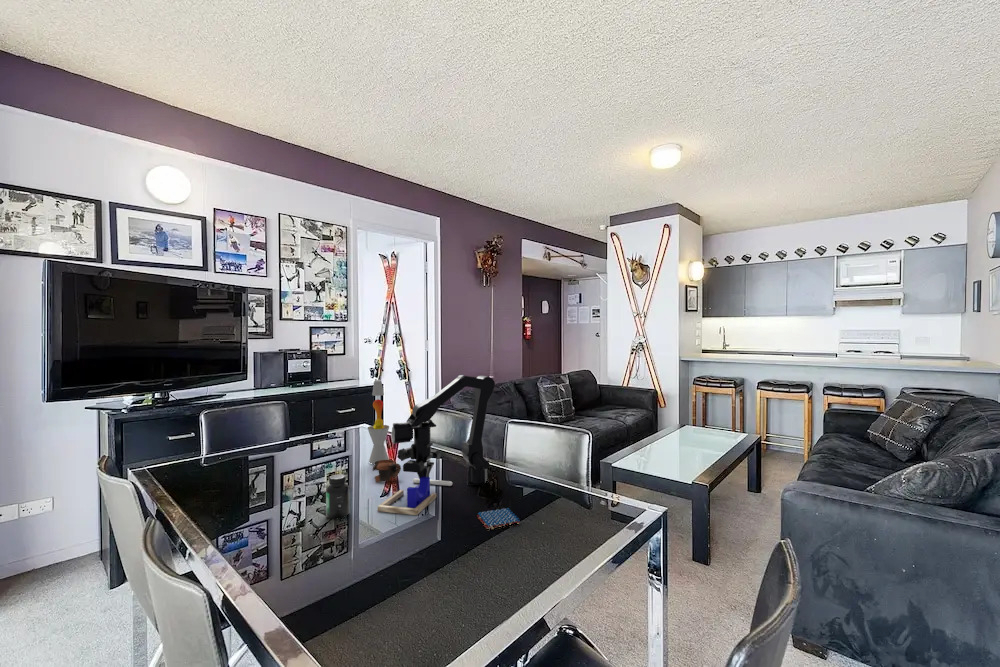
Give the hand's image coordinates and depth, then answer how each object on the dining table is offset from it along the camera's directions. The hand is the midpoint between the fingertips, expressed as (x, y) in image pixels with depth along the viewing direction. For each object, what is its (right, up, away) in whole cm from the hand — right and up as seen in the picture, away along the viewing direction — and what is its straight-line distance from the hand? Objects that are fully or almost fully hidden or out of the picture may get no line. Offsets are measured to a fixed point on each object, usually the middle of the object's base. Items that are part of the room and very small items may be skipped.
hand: (423, 484), depth 164 cm
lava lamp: (-25, -2, +37) cm, 45 cm away
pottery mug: (-16, -3, +15) cm, 22 cm away
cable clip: (-1, -3, -8) cm, 9 cm away
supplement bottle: (-23, -3, -20) cm, 30 cm away
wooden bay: (-3, -3, -11) cm, 11 cm away
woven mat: (+26, -3, -25) cm, 36 cm away
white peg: (+2, -2, +8) cm, 8 cm away
